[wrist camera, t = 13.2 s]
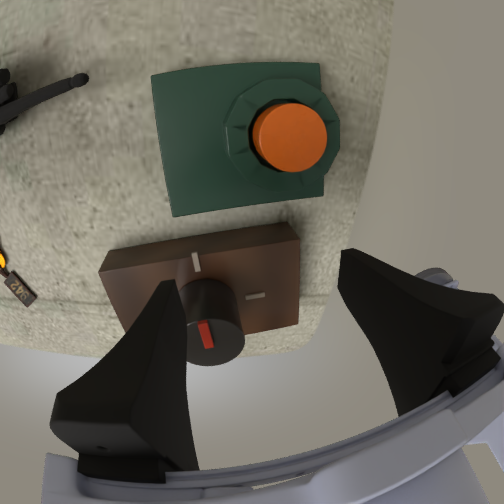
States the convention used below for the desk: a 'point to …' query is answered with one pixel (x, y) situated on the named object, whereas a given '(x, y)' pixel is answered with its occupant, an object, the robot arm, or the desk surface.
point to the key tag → (16, 285)
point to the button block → (234, 134)
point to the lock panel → (214, 273)
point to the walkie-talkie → (30, 95)
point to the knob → (211, 323)
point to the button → (290, 136)
